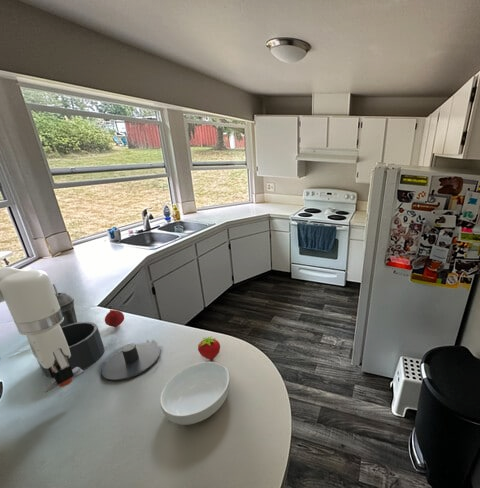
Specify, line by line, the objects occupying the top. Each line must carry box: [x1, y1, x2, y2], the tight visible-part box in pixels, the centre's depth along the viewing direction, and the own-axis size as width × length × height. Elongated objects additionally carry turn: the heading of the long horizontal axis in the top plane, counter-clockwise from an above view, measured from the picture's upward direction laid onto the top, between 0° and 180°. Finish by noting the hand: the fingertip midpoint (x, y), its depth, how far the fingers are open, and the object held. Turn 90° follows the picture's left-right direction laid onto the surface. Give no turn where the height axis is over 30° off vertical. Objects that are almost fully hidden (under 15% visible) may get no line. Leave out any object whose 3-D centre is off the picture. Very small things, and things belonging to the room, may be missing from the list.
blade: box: [42, 363, 85, 393], centre depth 66 cm, size 8×3×8 cm, turn 151°
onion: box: [104, 308, 125, 328], centre depth 98 cm, size 6×6×8 cm
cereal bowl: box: [159, 361, 231, 426], centre depth 69 cm, size 17×17×7 cm
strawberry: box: [197, 335, 221, 361], centre depth 83 cm, size 6×8×10 cm
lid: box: [100, 342, 161, 382], centre depth 82 cm, size 16×16×6 cm
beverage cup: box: [52, 283, 78, 327], centre depth 93 cm, size 7×7×20 cm
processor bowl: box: [37, 321, 105, 379], centre depth 81 cm, size 15×15×10 cm
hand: (62, 376), depth 67 cm, fingers closed on blade, 2 cm apart
